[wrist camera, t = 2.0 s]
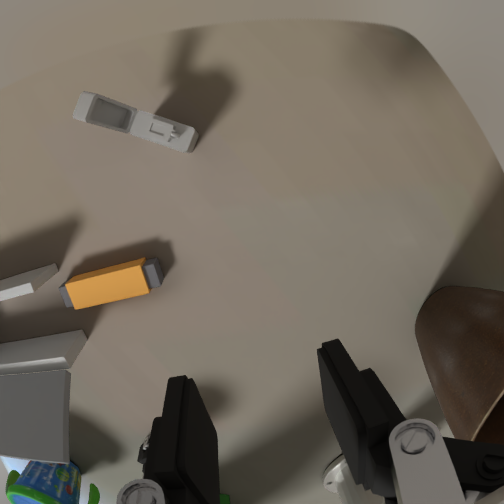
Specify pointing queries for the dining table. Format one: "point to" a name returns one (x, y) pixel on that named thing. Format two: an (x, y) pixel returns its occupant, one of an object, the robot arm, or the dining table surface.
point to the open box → (42, 348)
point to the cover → (35, 416)
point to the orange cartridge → (112, 283)
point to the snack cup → (47, 484)
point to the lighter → (134, 122)
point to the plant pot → (466, 359)
